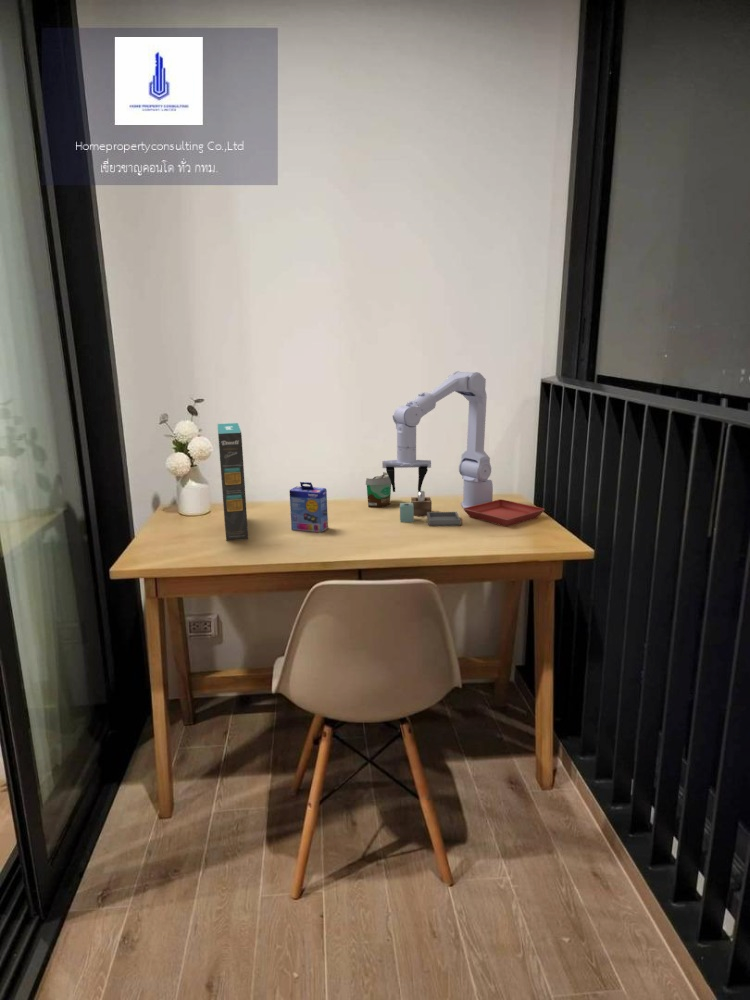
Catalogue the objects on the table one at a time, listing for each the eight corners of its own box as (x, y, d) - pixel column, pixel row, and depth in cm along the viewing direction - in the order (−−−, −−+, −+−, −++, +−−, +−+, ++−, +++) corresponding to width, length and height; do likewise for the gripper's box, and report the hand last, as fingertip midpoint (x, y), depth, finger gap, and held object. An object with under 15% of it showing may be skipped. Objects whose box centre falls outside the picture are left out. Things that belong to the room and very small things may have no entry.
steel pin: (424, 512, 204) (424, 491, 202) (424, 514, 202) (424, 492, 200) (417, 512, 204) (417, 491, 203) (417, 514, 202) (417, 492, 201)
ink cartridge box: (290, 530, 187) (287, 482, 183) (298, 525, 192) (296, 478, 188) (321, 533, 184) (319, 484, 180) (328, 527, 189) (327, 479, 185)
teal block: (412, 518, 197) (412, 502, 196) (413, 522, 193) (413, 506, 192) (399, 518, 197) (399, 502, 196) (400, 522, 193) (400, 506, 192)
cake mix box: (224, 520, 198) (217, 423, 191) (244, 518, 200) (237, 423, 193) (226, 540, 178) (218, 433, 171) (248, 538, 179) (241, 432, 172)
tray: (456, 517, 198) (456, 511, 197) (460, 525, 189) (460, 519, 188) (426, 517, 198) (427, 512, 197) (429, 526, 189) (429, 520, 189)
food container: (382, 510, 207) (381, 480, 205) (365, 508, 210) (365, 478, 208) (399, 502, 218) (399, 473, 215) (384, 500, 221) (383, 471, 218)
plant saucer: (461, 517, 199) (461, 507, 198) (500, 508, 210) (500, 498, 209) (506, 530, 185) (507, 519, 184) (545, 519, 196) (546, 508, 195)
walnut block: (429, 510, 206) (430, 497, 205) (431, 515, 200) (431, 501, 199) (411, 510, 206) (411, 497, 205) (412, 515, 200) (412, 501, 199)
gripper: (382, 449, 186) (382, 494, 189) (432, 448, 186) (431, 493, 189) (382, 445, 193) (382, 489, 196) (430, 444, 193) (429, 488, 196)
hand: (406, 491), depth 193 cm, fingers open, 7 cm apart
